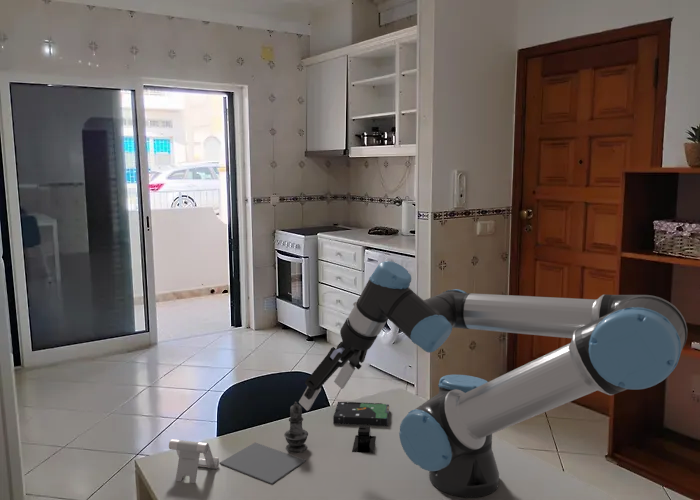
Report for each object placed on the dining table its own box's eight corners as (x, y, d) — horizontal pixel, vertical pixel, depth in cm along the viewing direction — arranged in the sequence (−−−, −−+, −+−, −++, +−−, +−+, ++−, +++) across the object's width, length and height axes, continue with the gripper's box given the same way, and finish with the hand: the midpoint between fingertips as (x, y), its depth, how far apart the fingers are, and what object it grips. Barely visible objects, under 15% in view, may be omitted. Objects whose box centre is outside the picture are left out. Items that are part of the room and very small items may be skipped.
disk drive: (333, 426, 154) (388, 428, 153) (333, 416, 154) (388, 418, 152) (337, 410, 164) (389, 411, 163) (337, 401, 164) (389, 402, 163)
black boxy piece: (353, 434, 150) (353, 417, 149) (380, 435, 149) (380, 418, 148) (347, 457, 137) (347, 439, 137) (377, 459, 137) (377, 441, 136)
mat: (305, 461, 134) (305, 460, 134) (271, 484, 124) (271, 483, 124) (255, 443, 143) (255, 442, 143) (219, 463, 133) (219, 462, 133)
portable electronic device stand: (219, 466, 132) (218, 432, 131) (203, 484, 125) (201, 448, 123) (185, 462, 134) (183, 428, 133) (167, 479, 126) (165, 444, 125)
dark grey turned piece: (308, 441, 144) (308, 396, 142) (308, 453, 138) (307, 405, 137) (285, 442, 144) (284, 396, 142) (283, 453, 138) (283, 406, 136)
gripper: (379, 302, 133) (340, 367, 142) (315, 329, 112) (275, 403, 121) (403, 322, 130) (362, 387, 139) (343, 354, 110) (299, 428, 119)
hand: (321, 395), depth 130 cm, fingers open, 13 cm apart
